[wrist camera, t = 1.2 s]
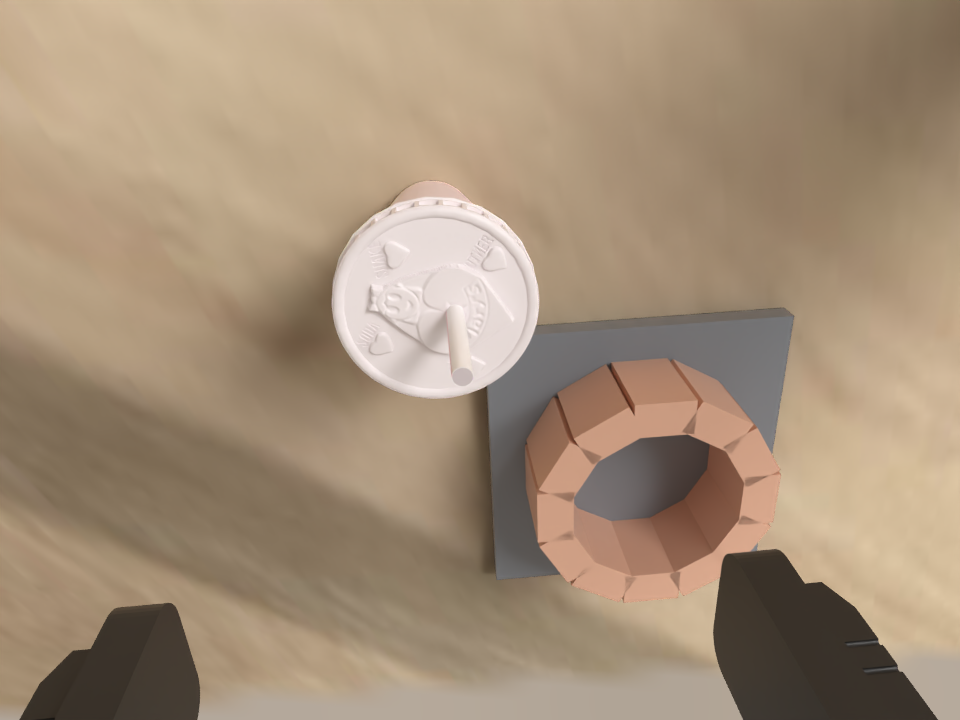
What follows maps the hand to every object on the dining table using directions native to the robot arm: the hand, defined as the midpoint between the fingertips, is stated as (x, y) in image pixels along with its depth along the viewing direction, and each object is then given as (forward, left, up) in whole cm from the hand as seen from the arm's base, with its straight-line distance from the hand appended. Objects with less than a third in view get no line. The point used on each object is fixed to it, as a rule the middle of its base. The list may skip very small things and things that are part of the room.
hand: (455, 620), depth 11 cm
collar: (-9, +12, -22) cm, 26 cm away
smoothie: (0, 0, -22) cm, 22 cm away
